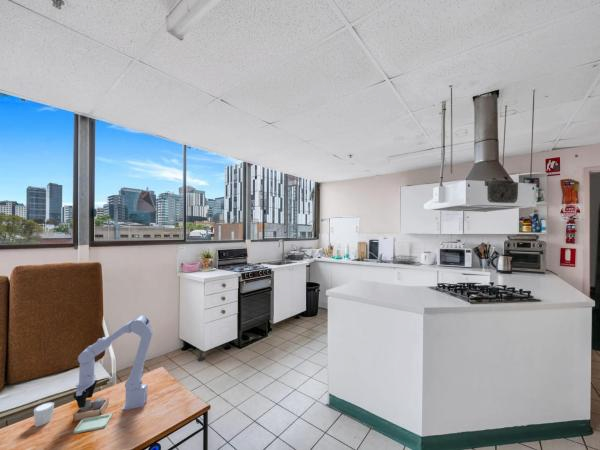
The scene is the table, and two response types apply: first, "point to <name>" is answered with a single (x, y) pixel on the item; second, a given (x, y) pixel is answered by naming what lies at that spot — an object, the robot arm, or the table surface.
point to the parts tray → (92, 423)
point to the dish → (92, 413)
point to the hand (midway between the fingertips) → (85, 402)
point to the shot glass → (43, 413)
